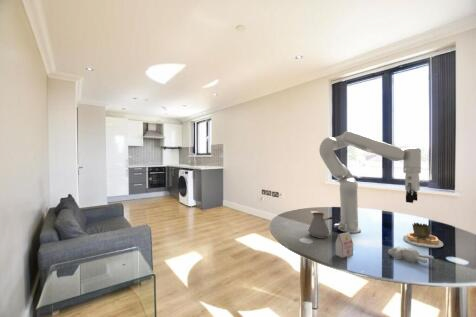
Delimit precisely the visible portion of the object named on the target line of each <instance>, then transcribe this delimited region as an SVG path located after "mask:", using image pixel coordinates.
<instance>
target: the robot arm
mask: <svg viewBox="0 0 476 317" xmlns="http://www.w3.org/2000/svg"><path fill="white" fill-rule="evenodd" d="M349 146H350V147H353V148H356V149H358V150H361V151H364V152H367V153H371V154H375V155H377V156H380V157H383V158H386V159H387V160H390V161H394V162H399V161H403V163H402V164H403V169H402V170H403V174H404V173H405V176H404V177H405V180H404V188H405V191H406V192H405V202H406V203H410V204H414V202H417V201H418V192H419V191H420V189H421V188H420V174H421V172H422V170H421V169H422V166H421V165H422V160H421V159H422V150H421V148H419V147H406V148H401V147H398V146H395V145H393V144H390V143H387V142H385V141H381V140H378V139H375V138H373V137H370V136H368V135H365V134H361V133H358V132H355V131H354V130H345V131H344V132H343V133H342V134H340V135H338V136H334V137H331V136H328V137H326V138H323V140H322V141H321V143H320V144H319V150H318V151H319V154H320V157H321V158H320V159H322V161H323V162H324V164H325V166H326V168H327V169H328V171H329V172H330V174H331V175H332V177H333V178H335V179H336V180H337V181H338V183H339V195H340V196H339V198H340V202H339V203H340V215H341V217H340V221H339V222H338V223H334V224H333V227H334V228H337V229H338V230H340V232H341V231H342V232H343V233H347V232H350V234H353V233H354V234H358V233H361V232H362V228H361V227H359V210H358V206H359V205H358V187H359V186H358V185H359V184H358V182H357V180H356V178H355V177H354V175H353V174H352V172H351V171H350V170H349V168H348V167H347V166H346V165H345V164H343V163H342V162H341V160H340V159H339V157H338V156H337V155H336V153H335V151H336V150H339V149H340V150H341V149H343V148H346V147H349ZM342 217H343V219H342Z"/></svg>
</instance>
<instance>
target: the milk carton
mask: <svg viewBox="0 0 476 317" xmlns="http://www.w3.org/2000/svg"><path fill="white" fill-rule="evenodd" d="M335 255H336V256H338V257H340V258H342V259H344V258H347V257H351V256H354V241H353V239H352V235H351V233H350V232H343V233H338V234H337V238H336V239H335Z"/></svg>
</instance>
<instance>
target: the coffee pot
mask: <svg viewBox="0 0 476 317" xmlns="http://www.w3.org/2000/svg"><path fill="white" fill-rule="evenodd" d="M312 215H313V218H312V220H311V223H310V224H309V227H308V230H307V231H308V234H310V236H311V237H313V236H314V237H313V238H315V237H317V238H316V239H325V238H326V237H328V235H329V234H330V230H329V228H328V226H327V224H326V221H330V220H335V219H341V214H339V215H333V216H331V217H328V218H327V217H325V218H324V216H325V213H323V212H316V211H315V212H312ZM342 219H343V217H342Z"/></svg>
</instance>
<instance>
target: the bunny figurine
mask: <svg viewBox="0 0 476 317" xmlns="http://www.w3.org/2000/svg"><path fill="white" fill-rule="evenodd" d="M387 252H388V254H390V256H391V257H392V258H395V259H399V260H403V261H404V262H407V263H411V264H414V263H416V262H417V263H418V262H420V263H423V264H427V263H428V260H429V259H430V260H435V258H434V256H433V255H429V254H420V252H419V251H418V249H416V248H412V247H400V246H396V247H393V248H390V249H387Z"/></svg>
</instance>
